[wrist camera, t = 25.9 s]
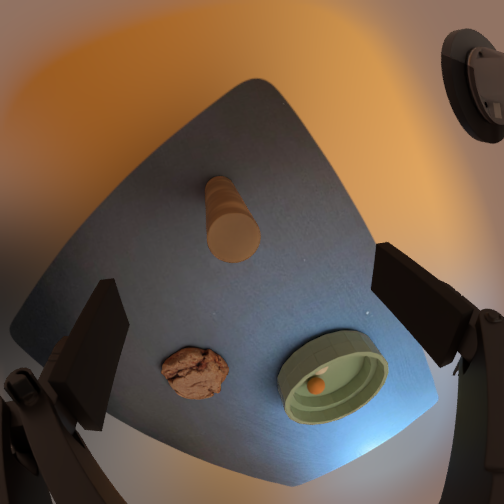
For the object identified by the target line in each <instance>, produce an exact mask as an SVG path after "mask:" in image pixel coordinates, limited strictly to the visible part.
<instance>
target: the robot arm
mask: <svg viewBox="0 0 504 504" xmlns="http://www.w3.org/2000/svg"><path fill="white" fill-rule="evenodd" d="M465 78H466V84H467V88H468V91H469V95H470V97H471V100H472V102H473V105H474V107H475V109H476V110H477V112H478V113H479V115H480V116H481V117H482V118H483V119H484V120H485V121H486V122H487V123H490V124H495V125H503V124H504V53H502V52H499V51H496V50H493V49H489V48H486V47H474V48H471V49H470V50H469V51H468V53H467V55H466V59H465ZM371 290H372V291H373V292H374V293H375V295H376V296H377V297H378V298H379V299H380V300H381V301H382V302H383V303H384V304H385V305H386V306H387V308H388V309H389V310H390V311H391V312H392V313H393V314H394V315H395V316H396V318H397V319H398V320H399V321H400V322H401V323H402V324H403V325H404V326H405V328H406V329H407V330H408V331H409V332H410V333H411V334H412V336H413V337H414V338H415V339H416V340H417V341H418V343H419V344H420V345H421V346H422V347H423V348H424V350H425V351H426V352H427V353H428V354H429V355H430V357H431V358H432V359H433V360H434V361H435V363H436V364H437V365H438V366H439V367H440V368H441V367H443V366H446V365H448V364H450V363H451V362H452V361H453V359H454V357H455V355H456V353H457V351H458V352H459V353H460V354H461V358H460V360H459V362H458V364H457V366H456V368H455V370H454V372H453V375H455V374H456V372H457V371H458V370H459V374H458V376H459V379H458V399H457V413H456V422H455V430H454V438H453V445H452V451H451V457H450V462H449V467H448V472H447V476H446V481H445V485H444V489H443V492H442V496H441V500H440V502H439V504H504V317H503V316H502V315H501V314H499V313H498V312H497V311H495V310H492V309H483V310H481V311H480V310H479V309H478V308H477V307H476V306H475V305H473V304H472V303H471V302H470V301H469V300H467V299H466V298H465V297H464V296H461V294H460V293H459V292H458V291H455V289H454V288H453V287H451V286H450V285H449V284H447V283H445V282H442V281H440V280H438V279H437V278H436V277H435V276H433V275H432V274H431V273H429V272H428V271H427V270H425V269H424V268H423V267H421V266H420V265H419V264H417V263H416V262H415V261H413V260H412V259H411V258H409V257H408V256H407V255H405V254H404V253H403V252H401V251H400V250H398V249H397V248H396V247H394V246H393V245H391V244H390V243H389V242H385V243H378V244H376V252H375V261H374V269H373V277H372V284H371ZM129 325H130V324H129V322H128V319H127V316H126V313H125V310H124V307H123V304H122V302H121V299H120V296H119V292H118V289H117V286H116V283H115V280H114V278H113V279H104V280H100V281H99V283H98V285H97V286H96V288H95V290H94V291H93V293H92V295H91V296H90V298H89V300H88V302H87V303H86V305H85V307H84V309H83V310H82V312H81V314H80V316H79V318H78V320H77V321H76V323H75V325H74V327H73V329H72V331H71V333H70V335H69V336H64V337H63V338H62V339H61V340H60V341H59V342H58V343H57V344H56V345H55V347H54V349H53V351H52V355H50V357H49V359H48V362H47V363H46V365H45V367H44V369H43V371H42V373H41V375H40V377H39V379H38V380H37V379H36V378H35V376H34V374H33V373H32V372H31V370H30V369H28V368H19V369H16V370H15V371H13V372H12V373H10V375H9V376H8V377H7V378H6V381H5V383H4V389H5V390H6V392H7V393H8V394H9V396H10V397H11V398H12V399H13V401H9V402H5V401H4V400H3V399H2V397H1V396H0V504H53V503H52V499H51V496H50V493H51V495H52V497H53V499H54V501H55V502H56V504H127V503H126V501H125V500H124V499H123V498H122V497H121V495H120V494H119V493H118V491H117V490H116V489H115V488H114V486H113V485H112V483H111V482H110V481H109V479H108V478H107V476H106V475H105V474H104V472H103V471H102V469H101V468H100V466H99V465H98V463H97V462H96V460H95V459H94V457H93V456H92V454H91V452H90V451H89V449H88V448H87V446H86V444H85V443H84V441H83V439H82V438H81V436H80V434H79V433H78V432H77V431H76V429H75V427H76V424H77V421H78V422H79V424H80V425H81V426H82V427H83V428H84V429H85V430H94V431H102V428H103V423H104V418H105V414H106V410H107V405H108V401H109V397H110V393H111V389H112V385H113V381H114V377H115V373H116V369H117V366H118V362H119V359H120V355H121V352H122V348H123V345H124V341H125V338H126V335H127V331H128V328H129ZM49 491H50V493H49Z"/></svg>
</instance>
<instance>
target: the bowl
mask: <svg viewBox="0 0 504 504" xmlns="http://www.w3.org/2000/svg"><path fill="white" fill-rule="evenodd" d="M327 366H328V369H327V371H326V372H325V373H323V374H320V375H316V374H315V373H316V372H318V371H319V370H321V369H322V368H324V367H327ZM387 375H388V362H387V361H386V359H385V358H384V357H383V355H382V354H381V353H380V351H379V350H378V348H377V347H376V346H375V344H374V343H373V342H372V341H371V339H370V338H369V337H368V336H367V335H365V334H363V333H360V332H358V331H346V330H342V331H338V332H334V333H329V334H325V335H323V336H321V337H319V338H316V339H314V340H312V341H310V342H308V343H306V344H305V345H304V346H302V347H301V348H300V349H298V350H297V351H296V352H294V353H293V354H292V355H291V356H290V358H289V359H288V360H287V361H286V362H285V363H284V364H283V366H282V368H281V370H280V373H279V375H278V378H277V381H278V391H279V394H280V397H281V400H282V403H283V407H284V410H285V412H286V414H287V415H288V417H289V418H290V419H291V420H293V421H295V422H297V423H300V424H308V425H315V424H324V423H328V422H332V421H335V420H339V419H341V418H343V417H345V416H347V415H349V414H352V413H353V412H355V411H357V410H358V409H360V408H361V407H363V406H364V405H366V404H367V403H368V402H369V401H370V400H371V399H372V398H373V397H374V396H375V395H376V394H377V393H378V392H379V390H380V389H381V388H382V386H383V385H384V383H385V381H386V378H387ZM315 377H318V378H321V379H322V380H323V381H324V383H325V388H324V390H323V392H322V393H320V394H317V395H315V394H311V393H310V392H309V391H308V389H307V384H308V382H309V380H310V379H312V378H315Z"/></svg>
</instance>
